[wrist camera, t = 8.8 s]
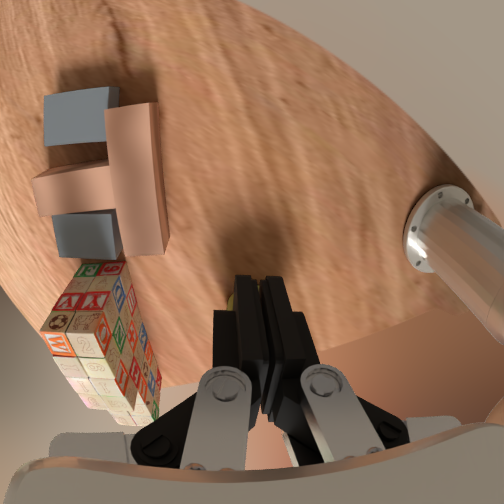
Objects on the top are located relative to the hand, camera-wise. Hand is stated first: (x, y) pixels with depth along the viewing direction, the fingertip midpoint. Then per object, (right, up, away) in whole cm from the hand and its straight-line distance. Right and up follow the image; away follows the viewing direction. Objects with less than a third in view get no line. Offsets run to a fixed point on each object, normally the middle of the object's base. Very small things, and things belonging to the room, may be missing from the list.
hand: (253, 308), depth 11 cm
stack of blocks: (-17, -8, +26) cm, 32 cm away
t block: (-15, +10, +16) cm, 24 cm away
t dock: (-17, +10, +15) cm, 25 cm away
